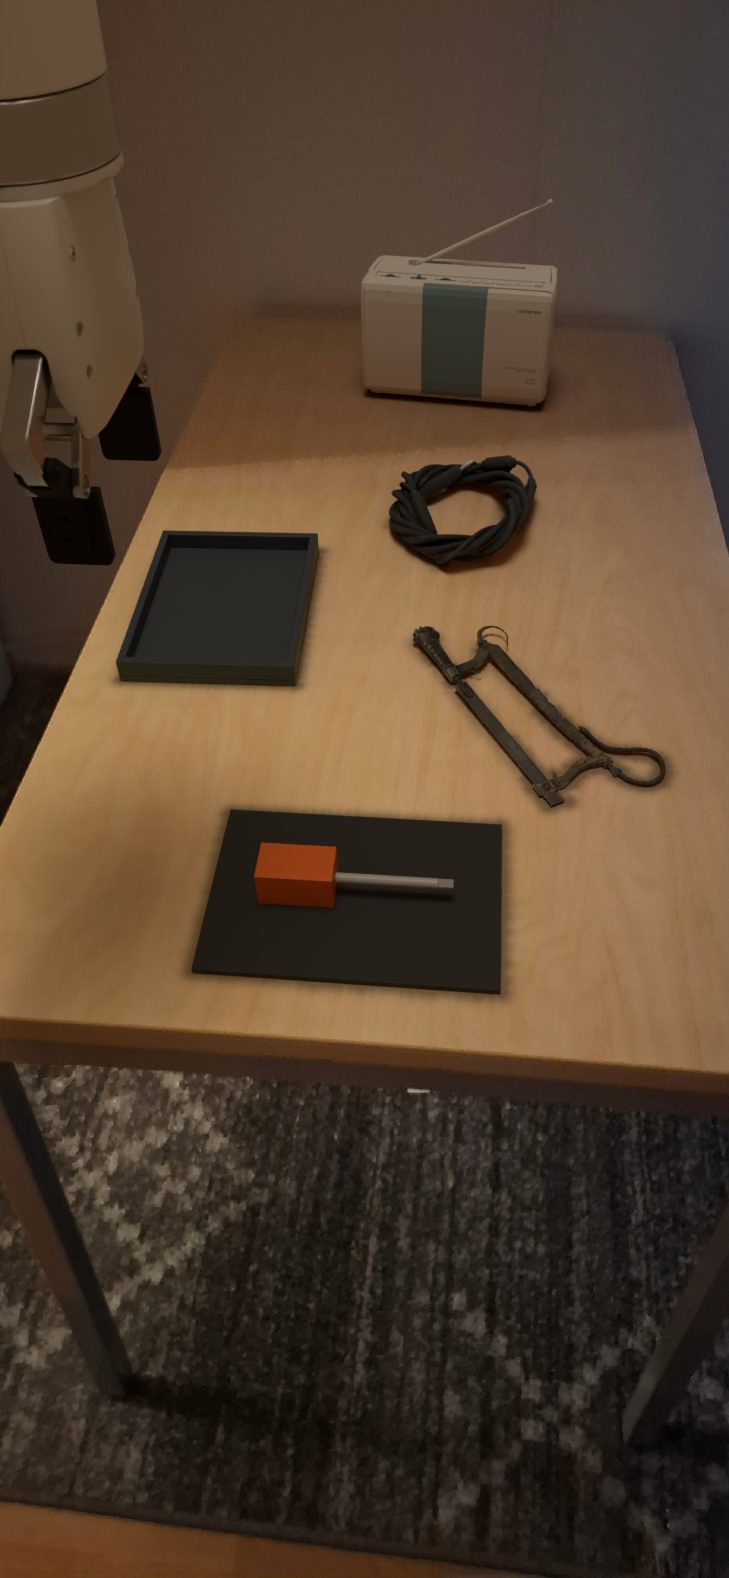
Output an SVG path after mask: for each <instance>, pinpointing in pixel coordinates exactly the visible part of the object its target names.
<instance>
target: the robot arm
mask: <svg viewBox="0 0 729 1578" xmlns="http://www.w3.org/2000/svg"><path fill="white" fill-rule="evenodd" d="M98 10H99V9H98V5H97V0H0V452H1V454H2V455H3V457H4V458H5V460H6V461H7V463H8V464H9V465H10V467H11V468H12V470H13V477H14V478H15V479H16V481H17V484H18V485H19V486H20V487H22V488H23V491H24V494H25V496H26V497H27V498H30V499H31V501H32V504H33V508H34V511H35V515H36V519H37V521H38V525H39V528H40V532H41V535H42V539H43V542H44V546H45V549H46V553H47V556H48V558H49V560H50V561H51V562H53V563H54V564H58V565H76V566H77V565H78V566H79V565H81V566H111V565H112V564H113V562H114V561H115V558H116V548H115V545H114V541H113V536H112V531H111V526H110V522H109V520H108V519H109V518H108V514H107V511H106V507H105V503H104V497H103V493H102V489H101V486H92V447H93V446H92V443H93V441H92V439H93V438H94V437H96V436H98V440H99V441H98V442H99V445H100V449H101V454H102V456H103V458H105V459H106V460H109V461H130V462H131V461H134V462H157V461H158V460H159V459H160V457H161V455H162V446H161V439H160V434H159V429H158V423H157V419H156V413H155V408H154V402H153V396H152V391H151V386H140V385H147V384H148V382H149V366H148V362H147V361H146V359H145V357H144V356H143V354H144V348H145V333H144V324H143V323H144V322H143V316H142V308H141V302H140V301H141V300H140V295H139V289H138V285H137V280H136V274H135V269H134V264H133V260H132V255H131V249H130V246H129V241H128V237H127V232H126V228H125V224H124V219H123V215H122V211H121V206H120V202H119V198H118V194H117V191H116V187H115V182H114V178H115V177H116V176H117V175H118V174H119V173H121V170H122V169H123V168H124V165H125V158H124V153H123V147H122V143H121V137H120V131H119V126H118V120H117V114H116V108H115V102H114V96H113V91H112V90H113V89H112V84H111V79H110V73H109V68H108V63H107V57H106V52H105V46H104V45H105V44H104V40H103V39H104V38H103V34H102V33H103V32H102V28H101V23H100V22H101V21H100V17H99V11H98ZM47 413H51V414H53V413H54V414H68V416H69V417H70V418H74V422H54V421H53V422H52V421H51V422H49V421H47V422H46V417H47ZM45 442H70V466H68V465H67V464H66V463H64V462H63V461H62V460H60V459H59V458H58V457H50V456H49V455H48V452H49V450H48V447H47V446H46V444H45Z"/></svg>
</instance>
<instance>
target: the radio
mask: <svg viewBox="0 0 729 1578" xmlns="http://www.w3.org/2000/svg"><path fill="white" fill-rule="evenodd" d="M546 201H547V202H545V203H543V204H540V205H539V206H536V207H533V208H532V209H529V210H526V211H524V212H522V213H520V214H518V215H516V216H513V217H510V218H508V219H506V220H504V221H502V222H500V223H498V224H496V225H493V226H490V227H489V228H486V229H484V230H482V231H479V232H478V233H476V234H473V235H471V236H470V237H467V238H465V239H463V240H460V241H458V242H457V243H454V244H452V245H450V246H448V247H446V248H444V249H442V250H440V251H437V252H436V253H433V254H431V255H429V256H427V257H419V256H418V257H417V256H405V255H403V256H402V255H388V254H383V255H380V256H377V258H376V259H375V260H374V262H373V263H372V264H371V265H370V267H369V268H368V270H367V273H365V276H364V277H363V279H362V280H361V283H360V330H361V332H360V335H361V361H362V383H363V386H364V388H365V389H368V390H370V392H372V393H375V394H392V395H404V396H417V397H426V398H429V397H430V398H440V399H451V400H461V401H462V400H463V401H472V402H485V403H497V404H509V405H519V406H521V405H523V406H527V407H535V406H537V404H539V403H542V402H543V401H544V400H545V398H546V394H547V389H548V381H549V371H550V364H551V363H550V362H551V353H552V345H553V335H554V326H555V317H556V309H557V308H556V306H557V298H558V268H557V267H556V266H554V265H547V264H545V265H543V264H529V263H517V262H516V263H514V262H500V261H499V262H497V261H483V260H469V259H467V260H466V259H452V258H451V259H450V258H440V257H442V256H444V255H446V254H448V253H451V252H453V251H455V250H457V249H459V248H461V247H464V246H465V245H468V244H470V243H472V242H474V241H476V240H478V239H480V238H483V237H485V236H487V235H489V234H491V233H493V232H495V231H496V230H499V229H501V228H504V227H505V226H507V225H509V224H512V223H513V222H515V221H517V220H519V219H521V218H523V217H525V216H527V215H529V214H531V213H533V212H535V211H537V210H539V209H540V208H542V207H545V206H547V205H548V206H551V205H553V204H554V201H553V199H552V198H549V199H548V200H546Z"/></svg>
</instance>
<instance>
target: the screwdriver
mask: <svg viewBox="0 0 729 1578" xmlns="http://www.w3.org/2000/svg"><path fill="white" fill-rule="evenodd" d="M254 879H255V885H256V891H257V897H258V903H261V904H277V905H293V906H309V907H325V908H333V907H334V902H335V895H336V888H337V883H349V884H365V885H382V886H399V887H415V888H432V889H451V890H453V886H454V880H453V879H438V878H423V877H406V876H389V875H372V874H355V873H338V860H337V848H336V847H330V846H313V845H295V844H278V843H261V846H260V851H259V855H258V860H257V865H256V870H255V874H254Z"/></svg>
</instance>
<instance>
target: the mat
mask: <svg viewBox="0 0 729 1578" xmlns="http://www.w3.org/2000/svg"><path fill="white" fill-rule="evenodd" d="M261 843H278V844H295V845H313V846H330V847H336V848H337V860H338V873H355V874H372V875H389V876H406V877H423V878H438V879H453V880H454V886H453V890H451V889H432V888H415V887H399V886H382V885H365V884H349V883H337V888H336V895H335V902H334V907H333V908H325V907H309V906H293V905H277V904H261V903H258V897H257V891H256V885H255V879H254V874H255V870H256V865H257V860H258V855H259V851H260V846H261ZM502 855H503V824H501V823H500V824H499V823H485V822H484V823H482V822H466V821H465V822H464V821H445V820H430V819H413V818H410V819H409V818H393V817H378V816H377V817H376V816H357V815H342V814H341V815H339V814H322V813H304V812H303V813H302V812H288V811H286V812H285V811H269V810H251V809H234V808H233V809H232V808H231V809H230V810H229V813H228V818H227V822H226V826H225V830H224V834H223V838H222V843H221V846H220V850H219V854H218V859H217V862H216V867H215V871H214V874H213V879H212V883H211V886H210V891H209V894H208V899H207V902H206V907H205V911H204V916H203V920H202V922H201V923H202V924H201V927H200V932H199V936H198V940H197V944H196V947H195V952H194V956H193V959H192V964H191V968H190V970H191V972H192V973H197V974H209V975H210V974H212V975H225V976H227V975H228V976H242V977H252V978H266V979H271V978H272V979H281V980H285V979H286V980H294V981H295V980H297V981H311V982H324V983H326V982H327V983H340V984H341V983H342V984H352V985H353V984H356V985H370V986H384V987H385V986H387V987H399V988H412V989H426V990H442V991H457V992H468V993H470V992H471V993H486V994H501V991H502V990H501V987H502V986H501V980H502V979H501V978H502V975H501V973H502V970H501V969H502V967H501V966H502V875H503V874H502V871H503V870H502V868H503V867H502V865H503V864H502V863H503V860H502V859H503V858H502V857H503V856H502Z"/></svg>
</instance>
